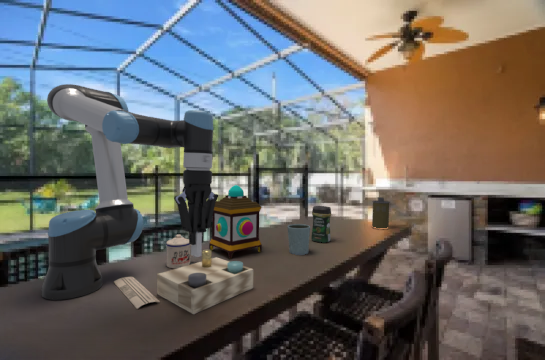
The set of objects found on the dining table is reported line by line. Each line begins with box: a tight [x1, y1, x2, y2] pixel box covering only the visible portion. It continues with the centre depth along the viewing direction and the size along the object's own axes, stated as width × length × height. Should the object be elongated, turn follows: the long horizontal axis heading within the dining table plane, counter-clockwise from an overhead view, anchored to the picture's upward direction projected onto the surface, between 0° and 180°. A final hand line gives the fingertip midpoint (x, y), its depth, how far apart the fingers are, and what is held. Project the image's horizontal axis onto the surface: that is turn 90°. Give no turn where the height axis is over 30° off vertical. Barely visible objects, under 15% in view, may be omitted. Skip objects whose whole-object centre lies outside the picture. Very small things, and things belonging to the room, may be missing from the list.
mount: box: [156, 256, 254, 315], centre depth 88 cm, size 22×18×6 cm
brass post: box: [201, 248, 213, 268], centre depth 93 cm, size 3×3×5 cm
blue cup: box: [286, 223, 311, 256], centre depth 131 cm, size 10×10×12 cm
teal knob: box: [227, 260, 244, 274], centre depth 90 cm, size 5×5×6 cm
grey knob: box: [188, 273, 206, 289], centre depth 79 cm, size 5×5×6 cm
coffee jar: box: [311, 205, 332, 244], centre depth 152 cm, size 10×8×19 cm
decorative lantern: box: [208, 184, 263, 260], centre depth 130 cm, size 20×20×30 cm
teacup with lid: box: [165, 234, 193, 269], centre depth 112 cm, size 12×9×12 cm
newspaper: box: [113, 276, 161, 310], centre depth 86 cm, size 24×7×2 cm, turn 42°
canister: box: [371, 196, 391, 228], centre depth 188 cm, size 11×10×20 cm
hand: (196, 255), depth 79 cm, fingers closed
